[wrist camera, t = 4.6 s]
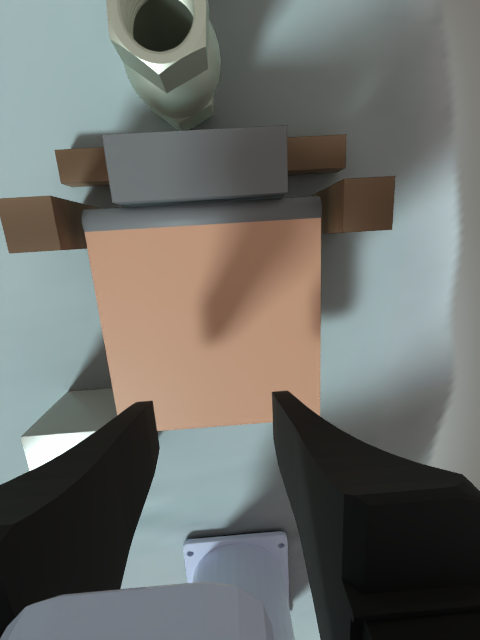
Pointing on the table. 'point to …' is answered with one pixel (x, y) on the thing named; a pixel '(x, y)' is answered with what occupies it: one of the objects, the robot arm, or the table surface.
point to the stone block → (68, 424)
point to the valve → (168, 56)
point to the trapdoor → (207, 276)
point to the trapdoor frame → (91, 170)
